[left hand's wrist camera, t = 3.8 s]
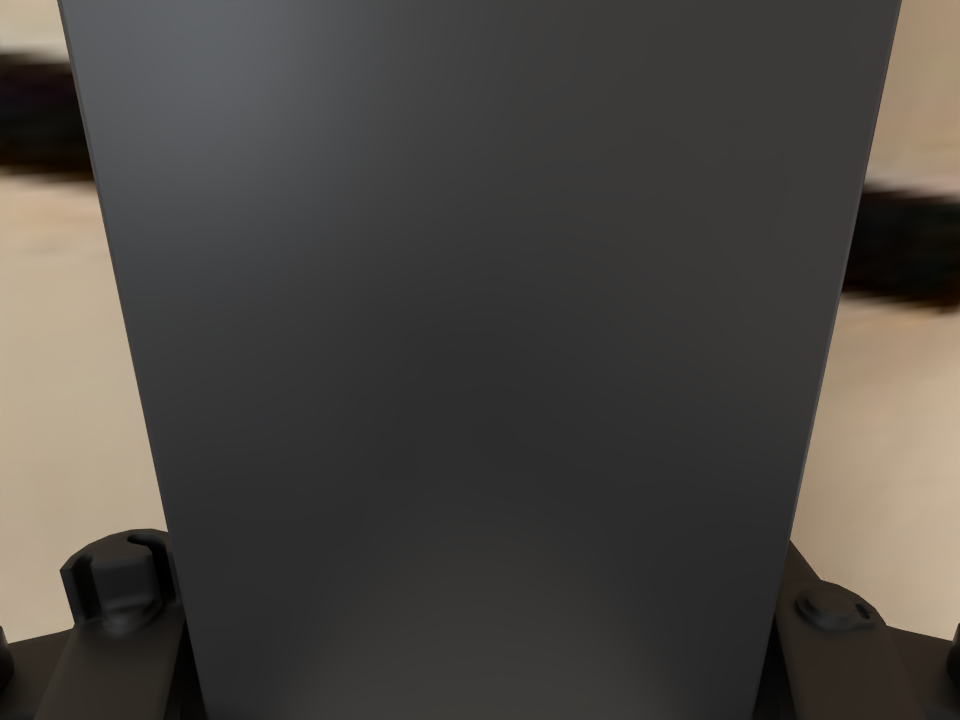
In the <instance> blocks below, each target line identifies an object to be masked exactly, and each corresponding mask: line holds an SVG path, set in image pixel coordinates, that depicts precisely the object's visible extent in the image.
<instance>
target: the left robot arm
mask: <svg viewBox="0 0 960 720" xmlns="http://www.w3.org/2000/svg"><path fill="white" fill-rule="evenodd" d="M60 574H61V577H62V581H63V584H64V587H65V591H66V594H67V598H68V601H69V605H70V608H71V612H72V615H73V619H74V622H75V624H74V627H73V628H72V629H69V630H65V631H62V632H58V633H54V634H49V635H45V636H41V637H36V638H32V639H27V640H23V641H18V642H14V643H10V644H8V643H7V640H6V637H5V634H4V631H3V628H2V627H1V626H0V720H207V716H206V711H205V706H204V702H203V697H202V692H201V687H200V682H199V678H198V673H197V668H196V663H195V659H194V654H193V649H192V644H191V639H190V635H189V630H188V625H187V620H186V615H185V611H184V606H183V601H182V596H181V591H180V587H179V582H178V577H177V572H176V567H175V563H174V558H173V553H172V548H171V543H170V539H169V534H168V532H165V531H160V530H156V529H134V530H128V531H124V532H120V533H116V534H112V535H109V536H106V537H104V538H102V539H100V540H97V541H95V542H93V543H90V544H88V545H87V546H85V547H84V548H82V549H81V550H80V551H78V552H77V553H75V554H74V555H72V556H71V557H70V558H69V559H68V561H67V562H66V563H65V564H64V565H63V567H62V568H61V569H60ZM752 720H960V623H959V624H958V627H957V630H956V633H955V636H954V638H953V641H949V640H945V639H940V638H936V637H931V636H927V635H922V634H918V633H914V632H909V631H905V630H900V629H897V628H893V627H890V626H887V625H886V623H885V622H884V620H883V619H882V617H881V616H880V615H879V613H878V612H877V610H876V609H875V608H874V607H873V606H872V605H870V604H869V603H868V602H867V601H865V600H864V599H863V598H862V597H860V596H859V595H857V594H855V593H853V592H851V591H849V590H847V589H845V588H843V587H841V586H839V585H837V584H833V583H830V582H826V581H823V580H820V578H819V577H818V576H817V575H816V573H815V572H814V571H813V569H812V568H811V567H810V565H809V564H808V563H807V561H806V560H805V559H804V558H803V556H802V555H801V554H800V552H799V551H798V550H797V548H796V547H795V546H794V544H793V543H792V542H791V540H789V545H788V550H787V554H786V559H785V564H784V569H783V574H782V578H781V583H780V588H779V593H778V598H777V602H776V607H775V612H774V617H773V622H772V626H771V631H770V636H769V641H768V646H767V651H766V655H765V660H764V665H763V670H762V675H761V679H760V684H759V689H758V694H757V699H756V703H755V708H754V713H753V718H752Z"/></svg>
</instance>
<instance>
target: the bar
mask: <svg viewBox="0 0 960 720" xmlns="http://www.w3.org/2000/svg"><path fill="white" fill-rule="evenodd" d="M57 1H58V6H59V11H60V16H61V20H62V25H63V30H64V35H65V40H66V44H67V49H68V54H69V59H70V64H71V68H72V73H73V78H74V83H75V88H76V92H77V97H78V102H79V107H80V112H81V116H82V121H83V126H84V131H85V136H86V140H87V145H88V150H89V155H90V160H91V164H92V169H93V174H94V179H95V184H96V188H97V193H98V198H99V203H100V208H101V212H102V217H103V222H104V227H105V232H106V236H107V241H108V246H109V251H110V256H111V260H112V265H113V270H114V275H115V280H116V284H117V289H118V294H119V299H120V304H121V308H122V313H123V318H124V323H125V327H126V332H127V337H128V342H129V347H130V351H131V356H132V361H133V366H134V371H135V375H136V380H137V385H138V390H139V395H140V399H141V404H142V409H143V414H144V419H145V423H146V428H147V433H148V438H149V443H150V447H151V452H152V457H153V462H154V467H155V471H156V476H157V481H158V486H159V491H160V495H161V500H162V505H163V510H164V515H165V519H166V524H167V529H168V534H169V539H170V543H171V548H172V553H173V558H174V563H175V567H176V572H177V577H178V582H179V587H180V591H181V596H182V601H183V606H184V611H185V615H186V620H187V625H188V630H189V635H190V639H191V644H192V649H193V654H194V659H195V663H196V668H197V673H198V678H199V682H200V687H201V692H202V697H203V702H204V706H205V711H206V716H207V720H752V718H753V713H754V708H755V703H756V699H757V694H758V689H759V684H760V679H761V675H762V670H763V665H764V660H765V655H766V651H767V646H768V641H769V636H770V631H771V626H772V622H773V617H774V612H775V607H776V602H777V598H778V593H779V588H780V583H781V578H782V574H783V569H784V564H785V559H786V554H787V550H788V545H789V540H790V535H791V530H792V526H793V521H794V516H795V511H796V506H797V502H798V497H799V492H800V487H801V482H802V477H803V473H804V468H805V463H806V458H807V453H808V449H809V444H810V439H811V434H812V429H813V425H814V420H815V415H816V410H817V405H818V401H819V396H820V391H821V386H822V381H823V377H824V372H825V367H826V362H827V357H828V352H829V348H830V343H831V338H832V333H833V328H834V324H835V319H836V314H837V309H838V304H839V300H840V295H841V290H842V285H843V280H844V276H845V271H846V266H847V261H848V256H849V252H850V247H851V242H852V237H853V232H854V228H855V223H856V218H857V213H858V208H859V203H860V199H861V194H862V189H863V184H864V179H865V175H866V170H867V165H868V160H869V155H870V151H871V146H872V141H873V136H874V131H875V127H876V122H877V117H878V112H879V107H880V103H881V98H882V93H883V88H884V83H885V79H886V74H887V69H888V64H889V59H890V54H891V50H892V45H893V40H894V35H895V30H896V26H897V21H898V16H899V11H900V6H901V2H902V0H57Z"/></svg>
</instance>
